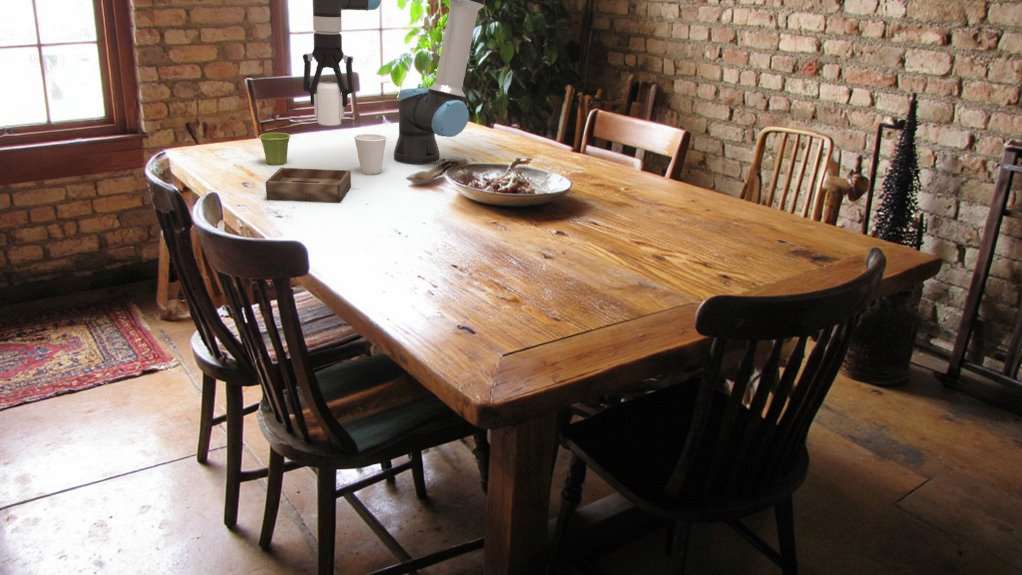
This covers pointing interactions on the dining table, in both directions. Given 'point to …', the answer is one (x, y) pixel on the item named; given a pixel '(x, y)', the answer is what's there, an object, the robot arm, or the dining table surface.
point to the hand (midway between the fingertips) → (329, 117)
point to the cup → (370, 152)
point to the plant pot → (275, 147)
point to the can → (328, 103)
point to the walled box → (308, 185)
